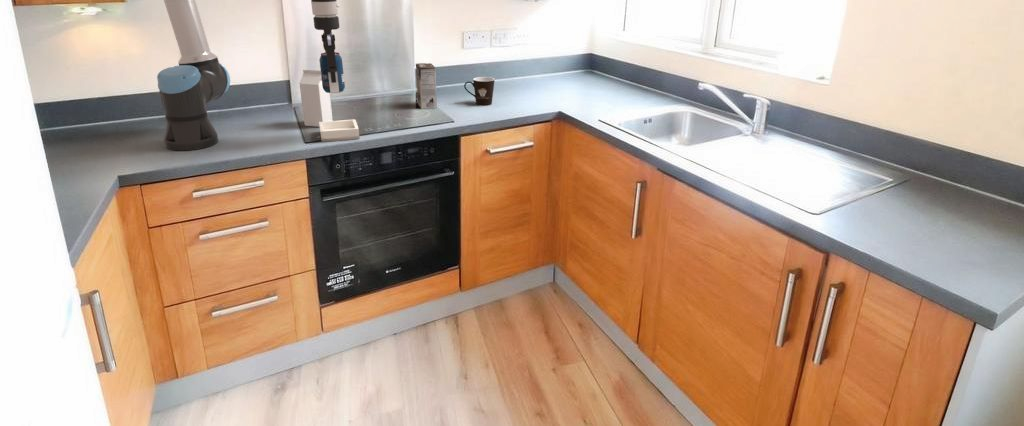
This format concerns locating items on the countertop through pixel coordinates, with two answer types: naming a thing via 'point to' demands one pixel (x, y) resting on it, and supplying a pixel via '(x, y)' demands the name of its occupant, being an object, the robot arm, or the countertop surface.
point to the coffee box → (426, 85)
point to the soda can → (325, 74)
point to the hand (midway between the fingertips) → (334, 89)
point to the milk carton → (314, 99)
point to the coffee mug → (482, 90)
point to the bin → (339, 130)
